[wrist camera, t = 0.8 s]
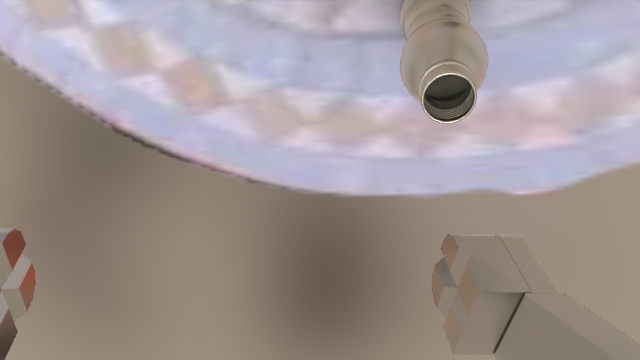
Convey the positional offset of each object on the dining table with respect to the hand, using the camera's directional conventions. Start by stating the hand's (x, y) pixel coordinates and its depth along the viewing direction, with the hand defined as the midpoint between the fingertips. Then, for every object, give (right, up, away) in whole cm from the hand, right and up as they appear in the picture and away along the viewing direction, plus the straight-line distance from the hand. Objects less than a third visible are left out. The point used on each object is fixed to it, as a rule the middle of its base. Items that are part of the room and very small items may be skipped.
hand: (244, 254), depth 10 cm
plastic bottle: (+13, +18, +39) cm, 45 cm away
